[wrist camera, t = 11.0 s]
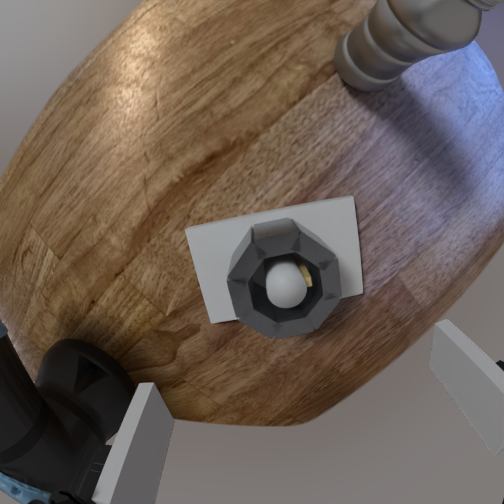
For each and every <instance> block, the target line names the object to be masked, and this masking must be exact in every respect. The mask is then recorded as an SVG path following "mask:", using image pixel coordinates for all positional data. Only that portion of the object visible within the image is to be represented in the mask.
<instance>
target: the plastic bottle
mask: <svg viewBox="0 0 504 504" xmlns="http://www.w3.org/2000/svg"><path fill="white" fill-rule="evenodd" d="M503 1H504V0H377V2H376V4H375V5H374V7H373V8H372V9H371V11H370V13H369V14H368V15H367V17H366V18H365V19H364V20H363V21H362V22H361V23H359V24H358V25H357V26H356V27H355V28H353V29H351V30H350V31H348V32H347V33H346V34H345V35H343V36H342V37H341V38H340V40H339V41H338V43H337V45H336V48H335V52H334V65H335V68H336V70H337V72H338V74H339V75H340V77H341V78H342V79H343V80H344V81H345V82H346V83H347V84H349V85H350V86H351V87H353V88H355V89H358V90H361V91H367V92H370V91H378V90H382V89H386V88H387V87H389V86H391V85H392V84H393V83H394V82H395V81H396V80H397V79H398V78H399V77H400V75H401V74H402V73H403V72H404V71H405V70H407V69H408V68H409V67H411V66H412V65H413V64H415V63H417V62H420V61H422V60H424V59H426V58H428V57H431V56H435V55H439V54H443V53H447V52H451V51H456V50H458V49H461V48H464V47H466V46H468V45H469V44H470V43H471V42H472V41H473V40H474V39H475V37H476V36H477V35H478V32H479V28H480V25H481V20H482V19H481V18H482V11H489V10H491V9H493V8H494V7H495V6H496V5H497V4H499V3H501V2H503Z"/></svg>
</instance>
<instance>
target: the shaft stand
mask: <svg viewBox="0 0 504 504" xmlns="http://www.w3.org/2000/svg"><path fill="white" fill-rule="evenodd" d="M283 218H289V219H291V218H292V219H294V220H295V221H297V222H298V223H300V224H301V225H302V226H304V227H305V228H307V229H308V230H310V231H311V232H313V233H314V234H316V235H317V236H318V237H320V238H321V239H322V241H323V242H324V243H325V244H326V245H327V246H328V247H329V248H330V249H331V250H332V251H333V252H334V253H335V254H336V257H337V258H338V262H339V271H340V280H341V290H342V297H340V299H341V298H346V297H350V296H354V295H358V294H362V293H363V284H362V270H361V258H360V248H359V238H358V229H357V221H356V213H355V205H354V198H353V197H352V196H344V197H338V198H332V199H326V200H321V201H315V202H310V203H304V204H299V205H294V206H288V207H283V208H278V209H273V210H268V211H263V212H258V213H253V214H248V215H243V216H238V217H233V218H229V219H224V220H219V221H214V222H210V223H205V224H201V225H196V226H192V227H188V228H187V229H185V232H186V236H187V240H188V243H189V247H190V251H191V255H192V258H193V262H194V266H195V269H196V273H197V277H198V280H199V284H200V287H201V291H202V294H203V298H204V301H205V304H206V308H207V311H208V314H209V318H210V321H211V323H217V322H223V321H230V320H236V319H238V318H239V317H238V318H236V316H235V312H234V308H233V304H232V301H231V297H230V293H229V289H228V285H227V281H226V280H227V275H228V271H229V267H230V262H231V258H232V254H233V253H234V251H235V250H236V248H237V247H238V245H239V244H240V242H241V241H242V239H243V238H244V236H245V235H246V233H247V232H248V230H249V229H250V227H251V226H252V227H253V228H254V224H258V223H263V222H268V221H273V220H278V219H283ZM309 270H310V269H309V263H308V260H307V259H305V258H304V257H302V256H301V255H299V254H298V253H296V252H293V253H288V254H283V255H278V256H273V257H268V258H264V260H263V261H262V263H261V264H260V265H259V267H258V268H257V270H256V271H255V273H254V274H253V276H252V277H253V281H254V282H256V283H258V284H259V285H261V286H263V287H264V288H266V289H267V295H268V298H269V300H270V301H271V302H272V303H273V304H274V305H276V306H278V307H281V308H291V307H294V306H296V305H298V304H299V303H300V302H301V301H302V300H303V299H304V297H305V295H306V292H307V287H310V286H312V282H311V276H310V274H309V272H308V271H309Z"/></svg>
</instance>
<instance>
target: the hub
mask: <svg viewBox="0 0 504 504" xmlns="http://www.w3.org/2000/svg"><path fill="white" fill-rule="evenodd" d="M293 252H296V253H298V254H299V255H301V256H302V257H304V258H305V259H307V260H308V263H309V269H310V270H309V271H308V272H309V274H310V276H311V282H312V286H310V287H307V292H306V295H305V297H304V299H303V300H302V301H301V302H300V303H299V304H298V305H296V306H294V307H291V308H281V307H278V306H276V305H274V304H273V303H272V302H271V301H270V300H269V298H268V295H267V289H266V288H264V287H263V286H261V285H259V284H258V283H256V282H254V281H253V277H252V276H253V274H254V273H255V271H256V270H257V268H258V267H259V265H260V264H261V263H262V261H263V260H264V258H268V257H273V256H278V255H283V254H288V253H293ZM226 281H227V285H228V289H229V293H230V297H231V301H232V304H233V308H234V312H235V316H236V318H238V317H239V318H238V321H240V322H242V323H243V324H245V325H247V326H249V327H251V328H252V329H254V330H256V331H258V332H260V333H261V334H263V335H265V336H267V337H269V338H271V339H272V338H273V337H274V336H275V339H280V338H286V337H291V336H296V335H301V334H305V333H310V332H314V331H313V328H314V329H316V330H317V329H318V328H319V326H320V325H321V324H322V323H323V322H324V320H325V319H326V318H327V317H328V316H329V314H330V313H331V312H332V311H333V309H334V308H335V307H336V306H337V304H338V303H339V302H340V300H341V299H340V297H342V290H341V280H340V271H339V262H338V258H337V257H336V254H335V253H334V252H333V251H332V250H331V249H330V248H329V247H328V246H327V245H326V244H325V243H324V242H323V241H322V239H321V238H320V237H318V236H317V235H316V234H314V233H313V232H311V231H310V230H308V229H307V228H305V227H304V226H302V225H301V224H300V223H298V222H297V221H295V220H294V219H292V218H291V219H289V218H283V219H278V220H273V221H268V222H263V223H258V224H254V228H253V227H252V226H251V227H250V229H249V230H248V232H247V233H246V235H245V236H244V238H243V239H242V241H241V242H240V244H239V245H238V247H237V248H236V250H235V251H234V253H233V254H232V258H231V262H230V267H229V271H228V275H227V280H226Z"/></svg>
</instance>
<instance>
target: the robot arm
mask: <svg viewBox="0 0 504 504" xmlns="http://www.w3.org/2000/svg"><path fill="white" fill-rule="evenodd" d="M7 332H8V330H7V328H6V326H5V325H4V324H3V323H2V321H1V319H0V490H1V491H3V492H4V493H6V494H7V495H8V496H10V497H11V498H13V499H15V500H16V501H18V502H19V503H21V504H155V501H156V497H157V492H158V488H159V483H160V479H161V475H162V470H163V466H164V462H165V458H166V454H167V450H168V445H169V442H170V437H171V434H172V430H173V426H174V422H175V421H174V419H173V417H172V416H171V414H170V412H169V410H168V408H167V407H166V405H165V403H164V401H163V399H162V397H161V395H160V393H159V391H158V390H157V388H156V386H155V384H154V382H152V383H139V385H138V388H137V390H135V387H134V385H133V383H132V381H131V379H130V378H129V376H128V375H127V374H126V372H125V371H124V370H123V369H122V368H121V366H120V365H119V364H118V363H117V362H116V361H114V360H113V359H112V358H111V357H110V356H108V355H107V354H106V353H104V352H103V351H101V350H100V349H98V348H96V347H95V346H93V345H91V344H88V343H86V342H83V341H80V340H76V339H63V340H60V341H57V342H56V343H55V344H54V345H53V346H52V347H51V348H50V349H49V350H48V351H47V352H46V354H45V355H44V357H43V360H42V364H41V366H40V369H39V372H38V375H37V378H36V381H35V384H34V383H33V381H32V379H31V378H30V376H29V374H28V372H27V371H26V369H25V367H24V365H23V364H22V362H21V360H20V358H19V356H18V354H17V352H16V350H15V348H14V346H13V344H12V342H11V340H10V338H9V336H8V334H7ZM429 369H430V370H431V372H432V373H433V374H434V375H435V377H436V378H437V379H438V381H439V382H440V383H441V384H442V386H443V387H444V388H445V390H446V391H447V392H448V394H449V395H450V396H451V398H452V399H453V400H454V402H455V403H456V404H457V406H458V407H459V408H460V410H461V411H462V412H463V414H464V415H465V416H466V418H467V419H468V421H469V422H470V424H471V425H472V426H473V428H474V429H475V430H476V432H477V433H478V435H479V436H480V438H481V439H482V441H483V442H484V444H485V445H486V446H487V448H488V449H489V451H490V453H491V454H492V455H493V457H494V456H496V455H497V454H499V453H500V452H501V451H502V450H504V362H503V361H501V360H500V361H498V362H496V363H495V362H494V361H493V360H491V359H490V358H489V357H488V356H487V355H486V354H485V353H484V352H483V351H482V350H481V349H480V348H479V347H478V346H477V345H476V344H474V343H473V342H472V341H471V340H470V339H469V338H468V337H467V336H466V335H464V333H463V332H461V331H460V330H459V329H458V328H457V327H456V326H455V325H454V324H452V323H451V322H450V321H449V320H448V319H446V320H443V321H441V322H438V323H435V327H434V336H433V343H432V350H431V356H430V363H429ZM117 432H118V434H117V436H116V438H115V441H114V443H113V445H105V444H106V442H107V441H108V440H109V439H110V438H111V437H112V436H113V435H114V434H115V433H117ZM502 504H504V499H503V503H502Z"/></svg>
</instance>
